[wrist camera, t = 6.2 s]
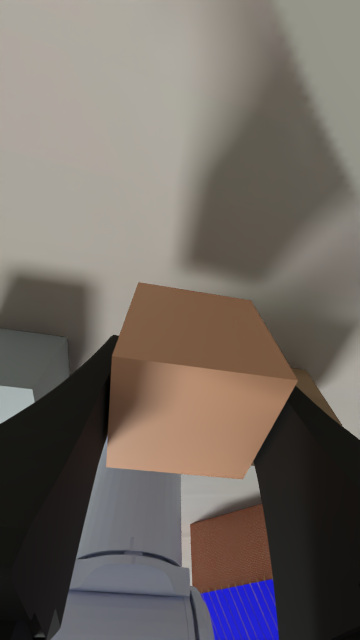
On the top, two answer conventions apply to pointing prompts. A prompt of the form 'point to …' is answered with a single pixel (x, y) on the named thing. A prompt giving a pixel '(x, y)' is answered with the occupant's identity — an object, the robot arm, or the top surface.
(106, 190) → the top surface
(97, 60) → the top surface
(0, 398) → the slate block
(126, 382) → the terracotta block
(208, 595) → the house
